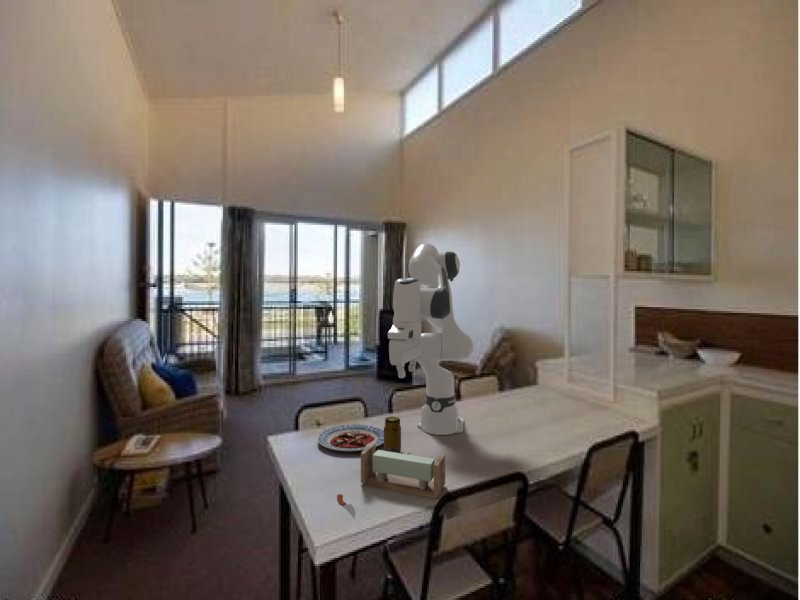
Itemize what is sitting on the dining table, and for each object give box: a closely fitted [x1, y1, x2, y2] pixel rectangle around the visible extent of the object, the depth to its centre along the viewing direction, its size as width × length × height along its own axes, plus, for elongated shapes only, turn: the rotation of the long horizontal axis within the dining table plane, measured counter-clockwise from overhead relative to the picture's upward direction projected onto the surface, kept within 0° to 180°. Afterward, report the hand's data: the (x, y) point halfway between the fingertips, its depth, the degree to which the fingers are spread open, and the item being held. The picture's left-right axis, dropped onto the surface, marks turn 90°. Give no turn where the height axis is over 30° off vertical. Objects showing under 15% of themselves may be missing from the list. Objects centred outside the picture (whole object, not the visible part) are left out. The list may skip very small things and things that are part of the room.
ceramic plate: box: [317, 424, 384, 452], centre depth 161 cm, size 26×26×3 cm
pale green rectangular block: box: [373, 449, 436, 482], centre depth 127 cm, size 4×18×5 cm, turn 69°
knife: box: [336, 493, 358, 520], centre depth 116 cm, size 13×1×3 cm
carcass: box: [360, 443, 446, 500], centre depth 127 cm, size 8×24×10 cm, turn 70°
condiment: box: [381, 415, 411, 455], centre depth 151 cm, size 7×8×12 cm
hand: (406, 374), depth 135 cm, fingers open, 8 cm apart
